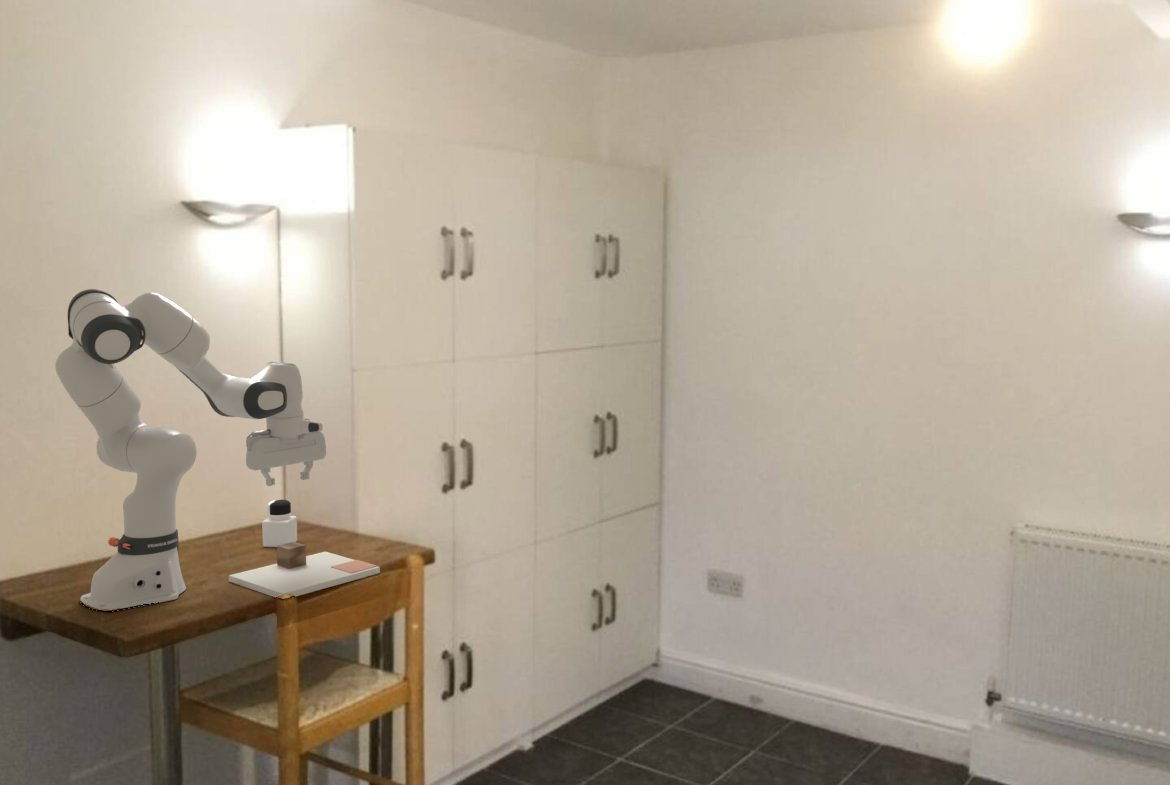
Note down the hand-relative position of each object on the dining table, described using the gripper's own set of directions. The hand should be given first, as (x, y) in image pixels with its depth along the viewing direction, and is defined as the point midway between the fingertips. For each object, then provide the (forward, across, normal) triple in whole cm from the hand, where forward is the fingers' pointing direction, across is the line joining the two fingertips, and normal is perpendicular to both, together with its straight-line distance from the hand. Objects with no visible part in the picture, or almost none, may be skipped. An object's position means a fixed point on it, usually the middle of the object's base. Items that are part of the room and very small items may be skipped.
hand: (288, 482), depth 263 cm
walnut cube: (+21, -1, -1) cm, 21 cm away
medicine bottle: (+23, +10, +24) cm, 35 cm away
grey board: (+22, -1, -8) cm, 24 cm away
